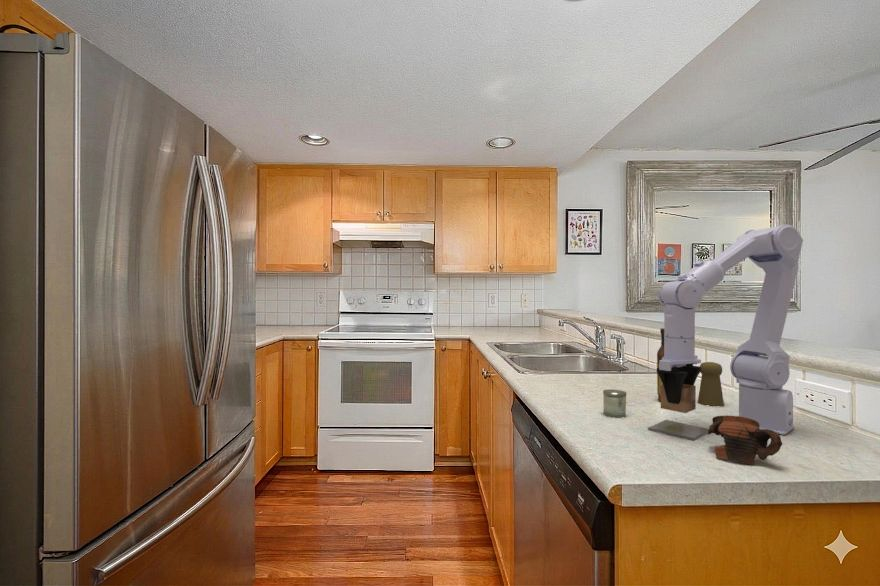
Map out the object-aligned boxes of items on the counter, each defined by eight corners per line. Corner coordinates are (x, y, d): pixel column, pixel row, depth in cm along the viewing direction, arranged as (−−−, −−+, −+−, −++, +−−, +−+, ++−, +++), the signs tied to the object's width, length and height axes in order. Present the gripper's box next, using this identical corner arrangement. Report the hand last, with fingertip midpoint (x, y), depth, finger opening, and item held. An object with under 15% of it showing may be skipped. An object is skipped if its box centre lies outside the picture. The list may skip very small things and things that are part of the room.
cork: (716, 401, 119) (716, 360, 119) (729, 407, 113) (729, 364, 113) (693, 400, 120) (693, 360, 120) (704, 406, 114) (704, 364, 114)
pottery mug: (696, 457, 80) (696, 413, 83) (725, 472, 83) (724, 429, 87) (771, 461, 70) (768, 410, 73) (801, 478, 73) (796, 429, 77)
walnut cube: (671, 404, 97) (671, 381, 97) (695, 409, 93) (695, 385, 93) (660, 408, 94) (660, 384, 94) (685, 413, 90) (685, 388, 90)
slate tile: (710, 431, 93) (710, 429, 93) (693, 440, 87) (693, 438, 87) (666, 421, 100) (666, 419, 100) (648, 429, 94) (648, 427, 94)
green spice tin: (630, 415, 105) (630, 392, 105) (619, 419, 102) (619, 395, 102) (609, 410, 109) (609, 388, 109) (598, 414, 106) (598, 391, 106)
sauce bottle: (688, 404, 115) (688, 329, 115) (664, 404, 116) (664, 329, 116) (675, 398, 122) (675, 327, 122) (652, 398, 122) (652, 327, 122)
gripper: (685, 341, 86) (685, 410, 86) (712, 336, 95) (712, 399, 95) (649, 338, 91) (648, 403, 91) (678, 334, 100) (678, 393, 100)
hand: (678, 400), depth 93 cm, fingers closed on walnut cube, 5 cm apart
